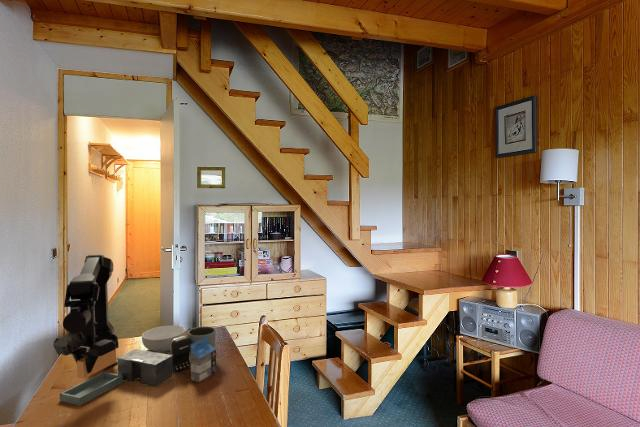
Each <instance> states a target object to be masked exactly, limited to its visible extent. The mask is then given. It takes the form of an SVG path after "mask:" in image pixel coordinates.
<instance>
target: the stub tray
mask: <svg viewBox="0 0 640 427" xmlns="http://www.w3.org/2000/svg"><path fill="white" fill-rule="evenodd" d="M122 383H124V381H123V375H118V373H117V374H116V373H113V372H107V371H103V372H101V373H99V374H97V375H95V376H93V377H90V378H89V379H87V380H85V381H82V382H80V383H79V384H77V385H74V386H73V387H71V388H69V389H66V390H64V391H62V392H60V393H59V402H63V403H66V404H67V403H68V404H72V405H76V406H80V407H81V405H84V404H85V403H87V402H89V401H91V400H93V399H95V398H97V397H98V396H100V395H102V394H104V393H105V392H108V391H109V390H112V389H114V388H115V387H117V386H118V385H120V384H122Z"/></svg>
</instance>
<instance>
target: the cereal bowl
mask: <svg viewBox="0 0 640 427" xmlns="http://www.w3.org/2000/svg"><path fill="white" fill-rule="evenodd" d="M186 335H187V334H186V328H185V327H184V326H182V325H162V326H157V327H153V328H150V329H147V330H145V331H144V332H143V333H142V334H141V342H142V345H143V346H144V347H145V348H146V349H148V350H149V351H152V352H156V353H167V352H170V343H171V341H172V340H173V339H175V338H178V337H182V336H186Z"/></svg>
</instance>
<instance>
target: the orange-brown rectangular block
mask: <svg viewBox="0 0 640 427" xmlns="http://www.w3.org/2000/svg"><path fill="white" fill-rule="evenodd" d="M116 362H117V348H116V349H115V350H113V351H111V352H109V353H107V354H105V355H102V356H99V357H98V358H97V360H96V363H95V365H94V367H93V369H92V371H91V372H90V373H87V369H86V361H85V358H82V359H80V360H78V361H77V363H76V374H77V375H76V376H77V378H80V379H86V378H88V377H91V376H92V375H94V374H96V373H98V372H100V371H102V369H104V368H106V367H108V366H110V365H112V364H114V363H116Z"/></svg>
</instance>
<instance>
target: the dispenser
mask: <svg viewBox="0 0 640 427" xmlns="http://www.w3.org/2000/svg"><path fill="white" fill-rule="evenodd" d="M172 357H173V355H170V354H169V353H168V354H167V353H163V352H156V351H151V350H149V351H148V350H142V349H137V348H136V349H133V350H132V351H129V352H126V353H124V354H122V355H121V356H118V357H116V361H117V362H118V363H117V374H118V375H123V382H129V383H134V382H135V381H137V380H139V379H140V384H141V385H143V386H149V387H153V388H157V387H158V386H160V385H162V384H164V383H165V382H167V381H168V380H170V379H172V377H173V375H174V374H173V371H172Z"/></svg>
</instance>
